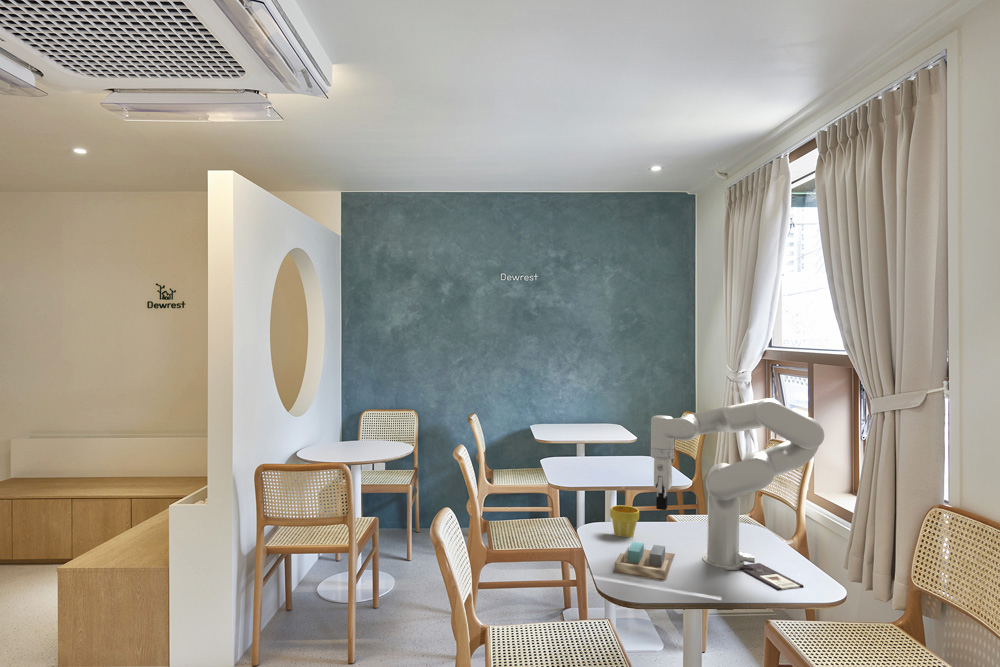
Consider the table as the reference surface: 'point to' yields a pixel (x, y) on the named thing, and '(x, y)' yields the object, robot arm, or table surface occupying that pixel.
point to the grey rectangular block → (657, 555)
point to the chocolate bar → (770, 577)
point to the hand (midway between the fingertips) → (661, 508)
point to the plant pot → (624, 520)
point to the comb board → (643, 566)
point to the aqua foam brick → (635, 552)
